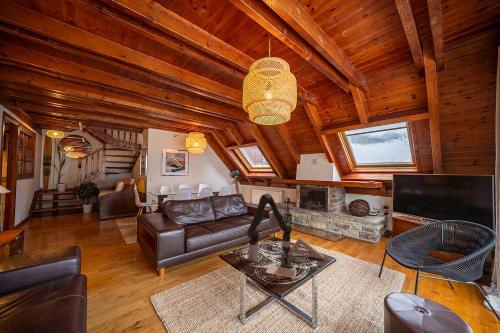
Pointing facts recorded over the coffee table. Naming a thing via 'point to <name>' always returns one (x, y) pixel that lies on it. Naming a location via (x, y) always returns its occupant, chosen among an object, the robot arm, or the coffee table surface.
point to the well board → (282, 271)
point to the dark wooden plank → (289, 262)
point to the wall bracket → (310, 250)
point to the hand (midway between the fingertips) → (286, 263)
